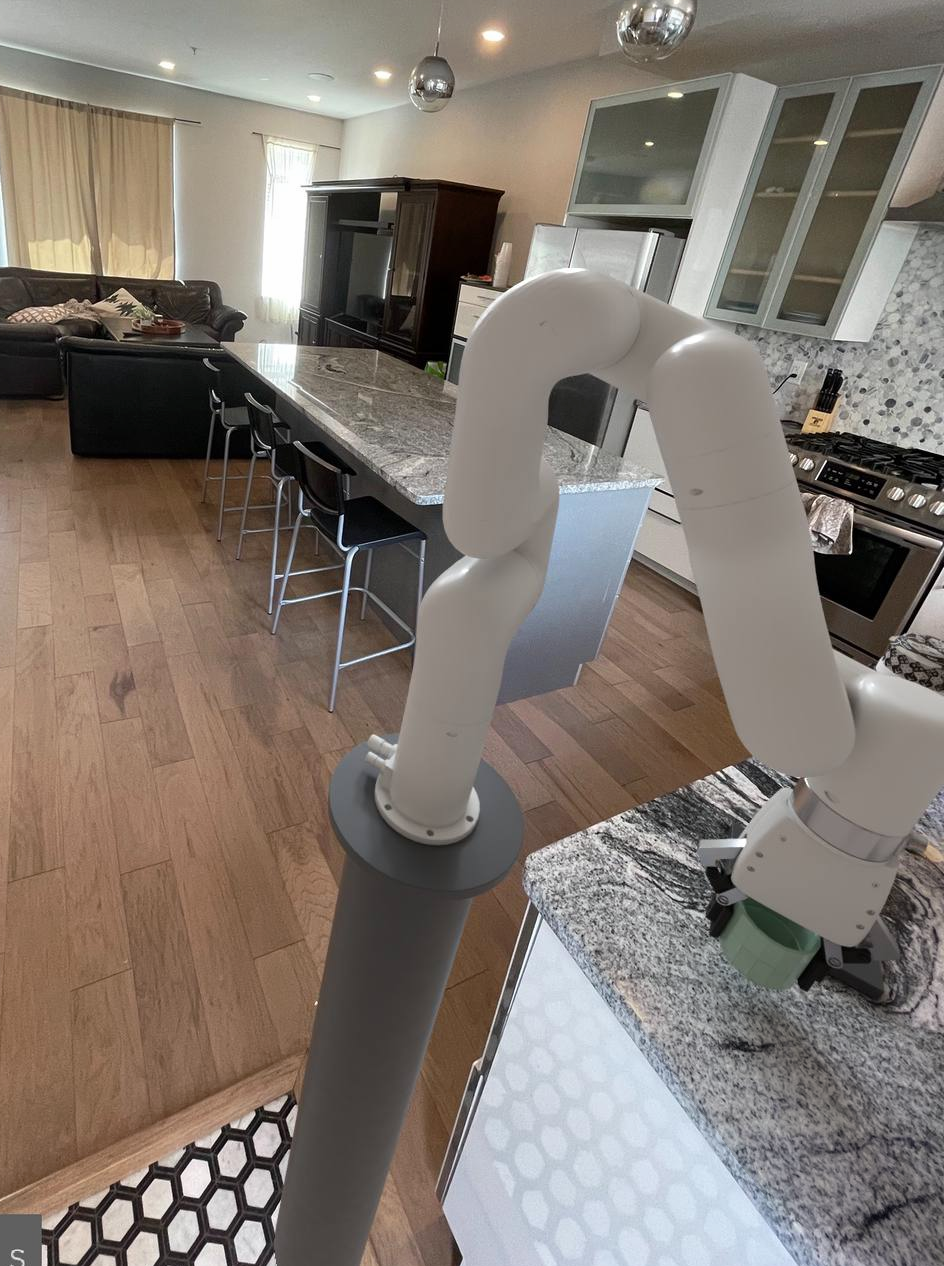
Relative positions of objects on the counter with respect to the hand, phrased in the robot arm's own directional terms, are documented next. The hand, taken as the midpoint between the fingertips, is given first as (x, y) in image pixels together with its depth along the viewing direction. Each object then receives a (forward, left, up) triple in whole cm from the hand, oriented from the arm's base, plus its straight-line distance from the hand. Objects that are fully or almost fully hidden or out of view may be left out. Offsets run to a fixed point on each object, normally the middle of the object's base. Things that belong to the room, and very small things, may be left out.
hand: (756, 949), depth 59 cm
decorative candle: (+12, +39, -4) cm, 41 cm away
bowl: (0, 0, -1) cm, 1 cm away
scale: (+5, +13, -4) cm, 14 cm away
